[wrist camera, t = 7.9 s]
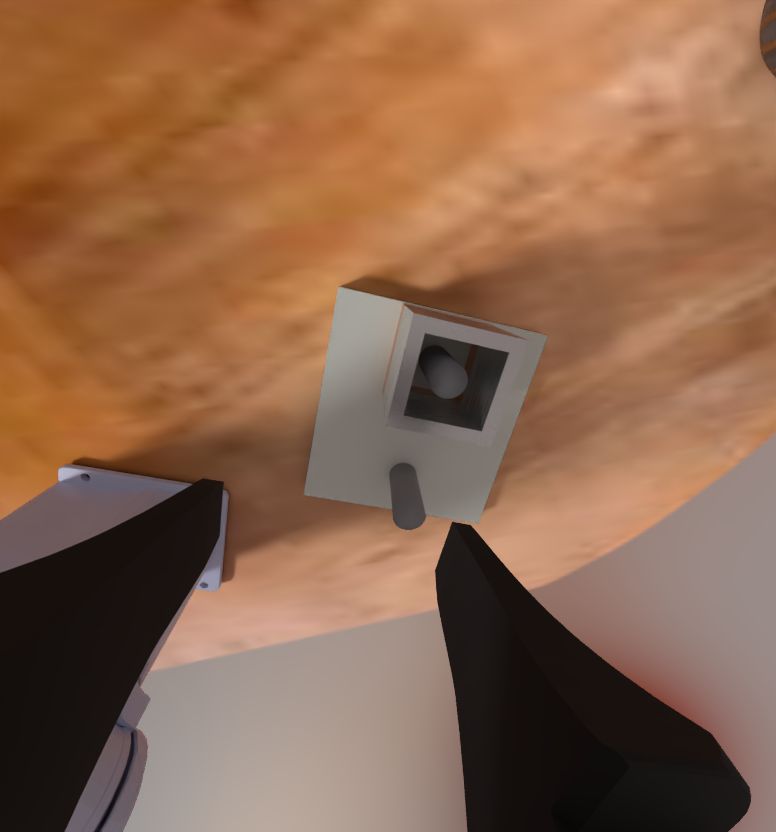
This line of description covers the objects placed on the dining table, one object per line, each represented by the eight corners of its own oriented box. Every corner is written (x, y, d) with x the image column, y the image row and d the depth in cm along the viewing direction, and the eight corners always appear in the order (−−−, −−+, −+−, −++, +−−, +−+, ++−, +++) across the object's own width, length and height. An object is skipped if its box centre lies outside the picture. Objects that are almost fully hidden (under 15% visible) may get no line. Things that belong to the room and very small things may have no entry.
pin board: (306, 486, 23) (289, 540, 18) (340, 286, 19) (329, 289, 14) (473, 514, 24) (498, 571, 19) (539, 333, 20) (591, 350, 15)
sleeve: (382, 390, 20) (385, 425, 15) (402, 303, 18) (413, 313, 14) (463, 407, 20) (490, 446, 16) (490, 324, 19) (529, 340, 14)
